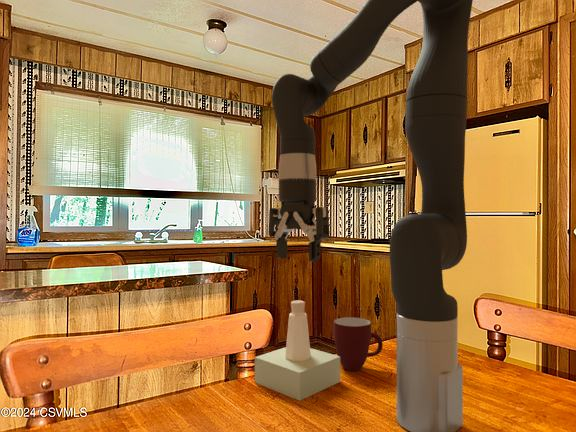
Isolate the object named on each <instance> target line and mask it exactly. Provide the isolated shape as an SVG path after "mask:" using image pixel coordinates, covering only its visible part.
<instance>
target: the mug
mask: <svg viewBox="0 0 576 432" xmlns="http://www.w3.org/2000/svg"><path fill="white" fill-rule="evenodd" d="M333 339H334V344H335V352H336V355H337V356H340V365H341V366H342V368H343V369H345V370H346V371H350V372H351V371H352V372H356V371H360V370H361V369H363V367H364V365H365V363H366V361H367V360H368V359H367V358H370V357H375V356H377V355H378V356H379V354H381V352H382V350H383V344H384V343H383V341H382V337H381V336H380V335H379V334H378V333H376V332H372V322H371V320H368V319H366V318H362V317H355V316H354V317H351V316H349V317H348V316H347V317H339V318H336V319H334V320H333ZM372 339H375V340H376V342H377V345H378V346H377V348H376V350H375V351H372V352H369V349H370V344H371V340H372Z"/></svg>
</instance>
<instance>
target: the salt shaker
mask: <svg viewBox="0 0 576 432" xmlns="http://www.w3.org/2000/svg"><path fill="white" fill-rule="evenodd" d="M290 304H291V306H290V307H291V312H290V313H289V316H288V325H287V336H286V343H285V344H286V346H285V347H286V354H285V358H286V359H289V360H291V361H305V360H308V359H310V358H311V353H310V348H311V345H310V333H309V324H308V323H309V322H308V314H307V313H306V312H305V305H306V302H305V301H303V300H301V299H299V300H292V301H291V302H290Z"/></svg>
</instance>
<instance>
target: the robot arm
mask: <svg viewBox="0 0 576 432" xmlns="http://www.w3.org/2000/svg"><path fill="white" fill-rule="evenodd" d="M417 2H419V4H420V5H421V10H422V11H421V12H422V26H423V28H422V30H423V31H422V44H421V45H422V46H421V51H420V54H419V57H418V60H417V62H416V64H415V66H414V69H413V70H412V73H411V75H410V76H411V77H410V79H409V82H408V86H407V90H406V97H405V117H404V118H405V119H404V120H405V122H404V124H405V126H404V129H405V135H406V141H407V144H408V146H409V149H410V152H411V155H412V157H413V158H412V159H413V160H414V162H415V163H414V164H415V166H416V169H417V172H418V174H419V177H420V183H421V213H415V214H414V213H413V214H408V215H405V216H403V217H401V218H400V219H398V220H397V222H396V223H395V225H394V226H393V228H392V231H391V235H390V239H389V268H390V269H389V270H390V285H391V293H392V295H393V299H394V301H395V304H396V421H397V424H398V425H400V426H401V427H402V428H404V429H405V430H407V431H409V432H457V431H458V430H459V429H460V428H462V427H463V423H464V421H463V419H464V417H463V416H464V415H463V411H464V410H463V407H464V406H463V405H464V404H463V401H464V399H463V396H464V394H463V392H464V391H463V390H464V389H463V388H464V387H463V383H464V381H463V379H464V378H463V372H464V371H463V365H462V364H460V363H458V360H459V359H458V313H459V311H458V302H457V299H456V298H455V297H454V296H452V295H451V294H448V293H447V292H446V290H445V288H444V279H443V271H444V270H445V271H446V270H450V269H452V268H455V267H456V266H457V265H458V264H459V263H460V262H461V261H462V259H463V258H464V256H465V253H466V250H467V244H468V229H467V228H468V227H467V214H466V202H465V199H466V198H465V161H466V160H465V158H466V156H465V155H466V154H465V153H466V150H465V149H466V129H467V118H468V117H467V115H468V114H467V113H468V75H469V74H468V71H469V70H468V69H469V68H468V67H469V56H468V55H469V54H468V53H469V49H468V46H469V45H468V44H469V43H468V42H469V40H468V39H469V29H470V21H471V14H472V7H473V2H474V1H473V0H367V1H366V2H365V3H364V4H363V5H362V7H361V8H360V9H359V11H358V12H357V13H356V14H355V15H354V16H353V18H352V19H350V21H349V22H348V23H347V24H346V25H345V26H344V27H343V28H342V29H341V30H340V31H339V32H338V33H337V34H336V35H335V36H334V37H332V39H330V40H329V42H327V43H326V44H325V45H324V46H323V47H322V48H321V49H319V51H318V52H317V53H315V54H314V55H313V56H312V58H311V59H310V62H309V69H310V72H311V74H312V75H311V76H310V77H309V78H307V79H306V78H304V77H302V76H298V75H295V74H293V73H284V74H282V75H280V76H279V77H278V78H277V79H276V81H275V83H274V84H273V87H272V93H271V103H272V104H271V105H272V109H273V112H274V117H275V118H274V119H275V121H276V126H277V129H278V131H279V161H278V201H279V202H280V203H281V205H280V206H281V207H270V208H269V212H268V236H269V237H271V238H274V240H275V241H276V244H275V245H276V246H275V247H276V249H275V250H276V251H275V252H276V256H277V259H278V260H279V259H280V260H282V259H287V258H288V240H287V238H288V236H289V235H290V233H291V232H293V231H294V230H301V231H302V232H303V233H304V234H306V236H307V238H308V239H309V242H308V260H309V262H311V263H312V262H313V263H314V262H315V263H316V262H318V261H319V260H320V258H321V252H322V251H321V249H322V248H321V247H322V246H321V244H322V241H323V240H325V239H330V236H331V235H330V218H329V217H330V216H329V214H330V213H329V208H328V207H327V206H315V202H317V161H316V132H315V130H314V128H313V127H312V126H311V125H309V124H308V123H307V122H306V121H305V118H304V117H308V116H311V115H314V114H315V113H317V112H318V111H319V110H321V109H322V108H323V106H324V105H325V104H326V103H327V102H328V101H329V98H331V96H332V95H333V93H334V92H335V90H336V89H337V87H338V86H339V85H340V84H341V83H343V82H344V81H345V80H346V79H347V78H348V77H349V76H351V75H352V74H353V73H354V72H356V71H357V70H358V69H359V68H360V67H361V66H363V64H365V63H366V61H367V60H368V59H369V58H370V56H371V55H372V53H373V51H374V50H375V48H376V47H377V45H378V43H379V42H380V39H381V38H382V36H383V35H384V33H385V32H386V31H387V29H388V28H389V26H390V25H391V24H392V22H394V21H395V19H396V18H397V17H399V15H401V14H403V12H404V11H405V10H407V9H408V8H410V7H411V6H413V5H414V4H415V3H417ZM314 218H315V220H314Z"/></svg>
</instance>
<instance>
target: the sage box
mask: <svg viewBox="0 0 576 432" xmlns="http://www.w3.org/2000/svg"><path fill="white" fill-rule="evenodd" d="M310 353H311V358H310V359H308V360H305V361H291V360H289V359H286V358H285V354H286V346H285V347H282V348H279V349H276V350H273V351H271V352H270V351H269V352H267V353H264V354H260V355H257V356H254V383H255V384H258V385H260V386H263V387H265V388H267V389H270V390H272V391H275V392H278V393H279V394H282V395H284V396H287V397H289V398H291V399H294V400H297V401H300V402H301V401H302V400H304V399H306V398H309V397H312V396H313V395H316V394H317V393H319V392H321V391H324V390H325V389H327V388H330V387H332V386H334V385H337V384H338V383H340V382H341V363H340V356H337V354H332V353H329V352H326V351H322V350H319V349H315V348H311V347H310Z"/></svg>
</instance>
